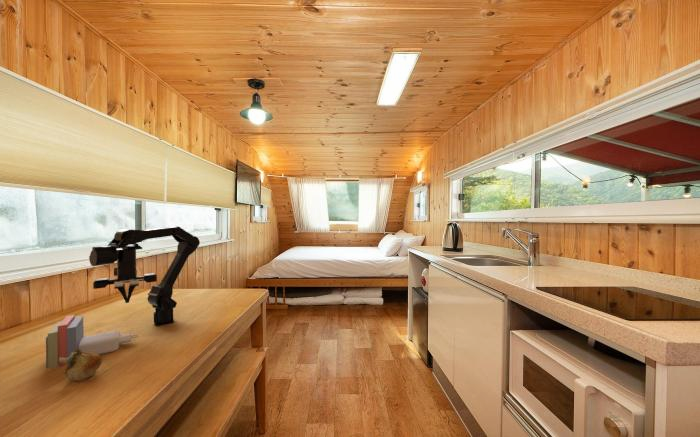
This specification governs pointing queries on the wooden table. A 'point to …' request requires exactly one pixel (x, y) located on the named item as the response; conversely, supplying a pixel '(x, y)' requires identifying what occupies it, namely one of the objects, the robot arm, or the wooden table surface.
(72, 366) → the onion
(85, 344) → the charger
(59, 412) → the wooden table surface
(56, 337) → the book row
